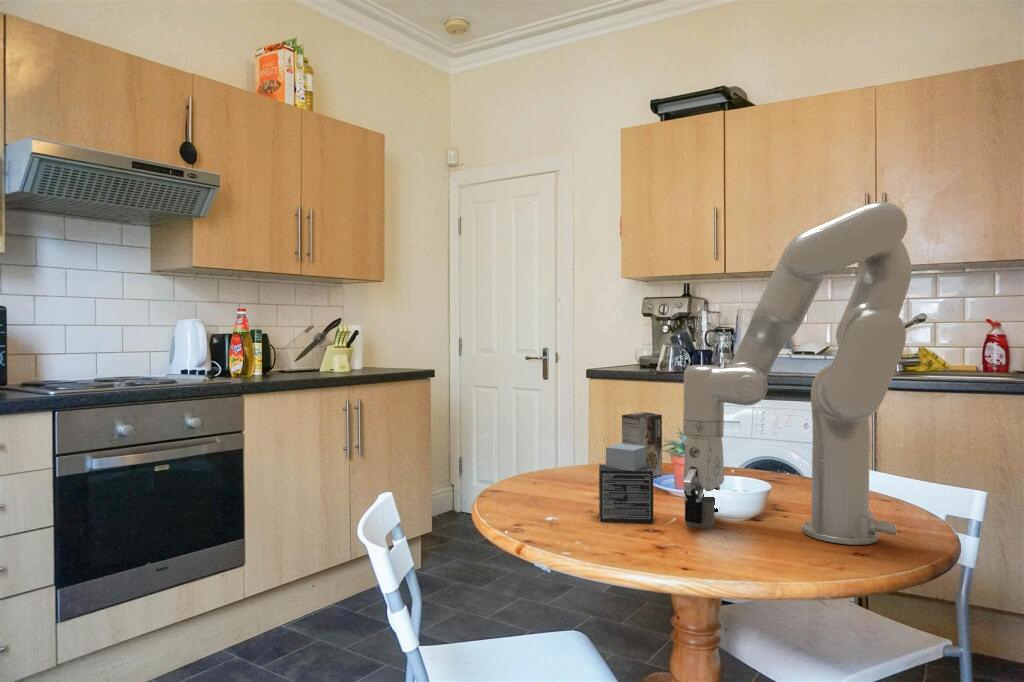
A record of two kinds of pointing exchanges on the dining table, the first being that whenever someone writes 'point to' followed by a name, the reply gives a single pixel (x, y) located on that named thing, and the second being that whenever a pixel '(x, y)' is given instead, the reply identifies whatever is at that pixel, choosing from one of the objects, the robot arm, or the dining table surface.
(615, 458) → the slate block
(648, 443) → the coffee box
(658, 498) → the dining table surface
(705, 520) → the brown grey cube
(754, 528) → the dining table surface
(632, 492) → the small box
